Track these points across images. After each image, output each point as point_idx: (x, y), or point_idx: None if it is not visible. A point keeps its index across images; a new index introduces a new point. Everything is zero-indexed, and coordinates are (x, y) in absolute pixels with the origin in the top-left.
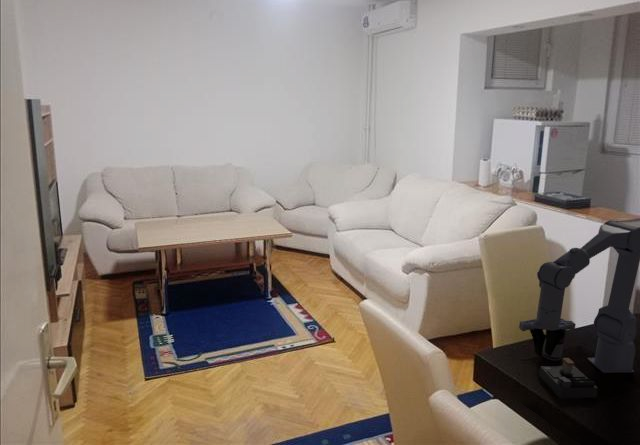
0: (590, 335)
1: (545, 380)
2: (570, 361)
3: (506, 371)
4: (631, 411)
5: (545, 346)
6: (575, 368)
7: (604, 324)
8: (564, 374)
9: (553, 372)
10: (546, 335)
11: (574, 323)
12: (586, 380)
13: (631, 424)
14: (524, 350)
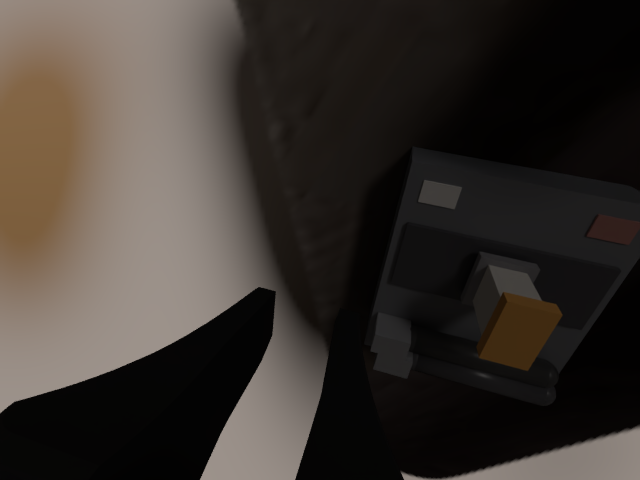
0: None
1: (395, 213)
2: (520, 350)
3: (260, 62)
4: (575, 438)
5: (333, 334)
6: (635, 240)
7: None
8: (462, 295)
9: (428, 248)
10: (313, 421)
11: None
12: (514, 381)
13: (492, 461)
14: None
